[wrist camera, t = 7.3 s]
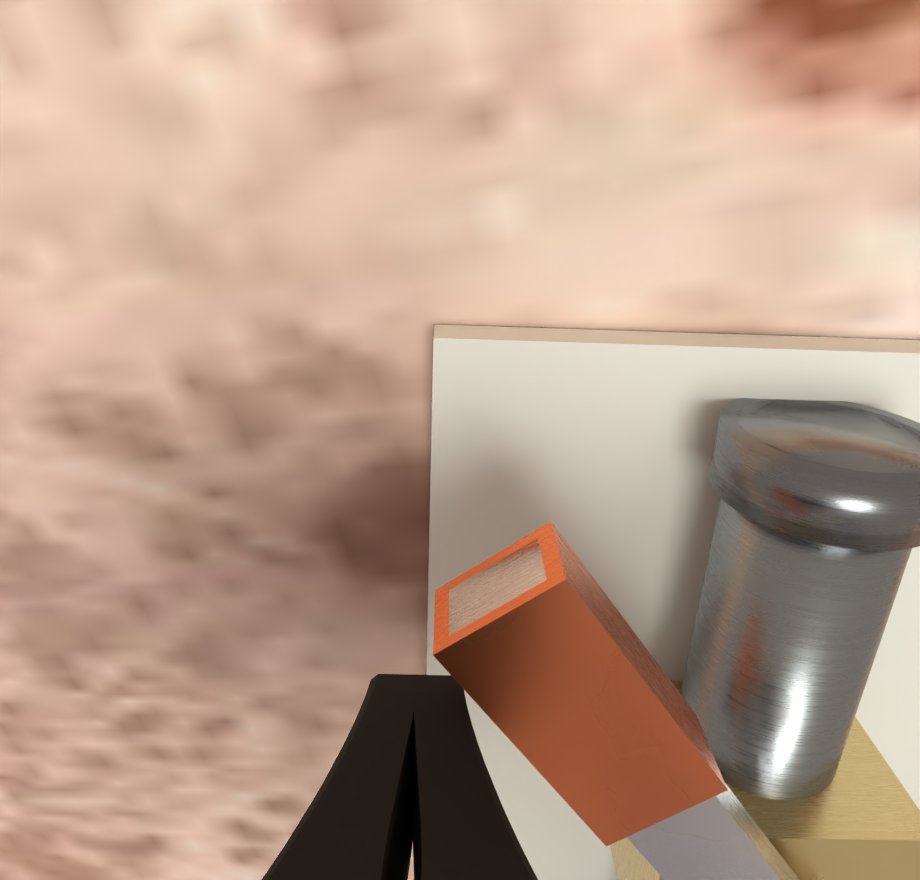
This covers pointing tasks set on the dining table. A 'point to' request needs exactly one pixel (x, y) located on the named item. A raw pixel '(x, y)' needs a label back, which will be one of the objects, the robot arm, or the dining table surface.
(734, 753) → the pipe and valve
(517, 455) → the valve board
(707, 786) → the valve lever
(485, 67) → the dining table surface
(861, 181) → the dining table surface
